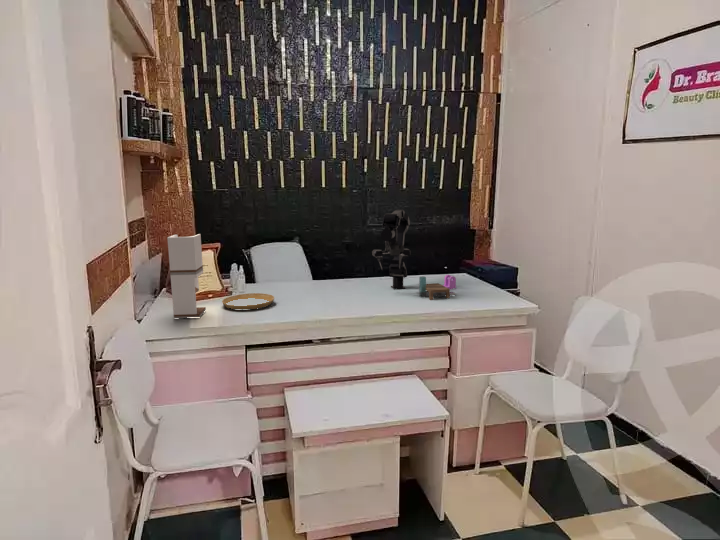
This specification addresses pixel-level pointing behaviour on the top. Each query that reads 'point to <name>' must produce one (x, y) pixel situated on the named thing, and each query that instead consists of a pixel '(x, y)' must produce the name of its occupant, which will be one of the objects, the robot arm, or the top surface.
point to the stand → (437, 289)
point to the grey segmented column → (185, 274)
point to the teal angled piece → (423, 289)
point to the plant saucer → (246, 296)
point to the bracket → (449, 282)
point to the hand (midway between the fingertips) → (391, 269)
